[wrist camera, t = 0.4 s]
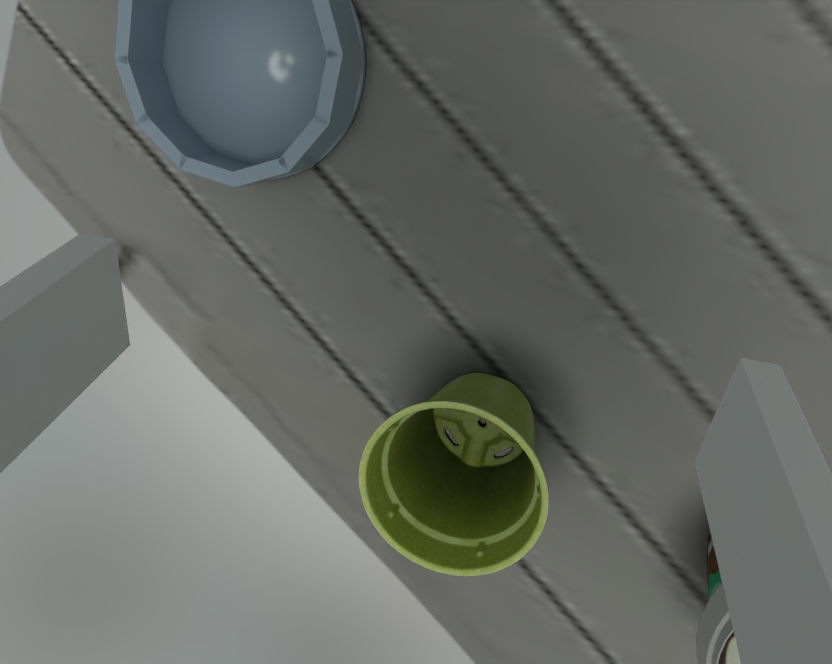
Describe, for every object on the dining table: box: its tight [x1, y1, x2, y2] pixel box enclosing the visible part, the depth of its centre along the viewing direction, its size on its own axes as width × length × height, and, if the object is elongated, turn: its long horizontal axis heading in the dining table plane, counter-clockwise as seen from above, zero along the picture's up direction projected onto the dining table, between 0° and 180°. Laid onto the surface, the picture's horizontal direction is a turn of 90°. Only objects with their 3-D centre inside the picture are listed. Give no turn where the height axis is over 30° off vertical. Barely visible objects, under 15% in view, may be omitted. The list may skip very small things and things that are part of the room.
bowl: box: [114, 0, 366, 188], centre depth 36 cm, size 13×13×4 cm
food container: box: [696, 533, 741, 664], centre depth 34 cm, size 12×6×10 cm, turn 57°
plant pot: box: [359, 373, 549, 576], centre depth 37 cm, size 9×9×9 cm
